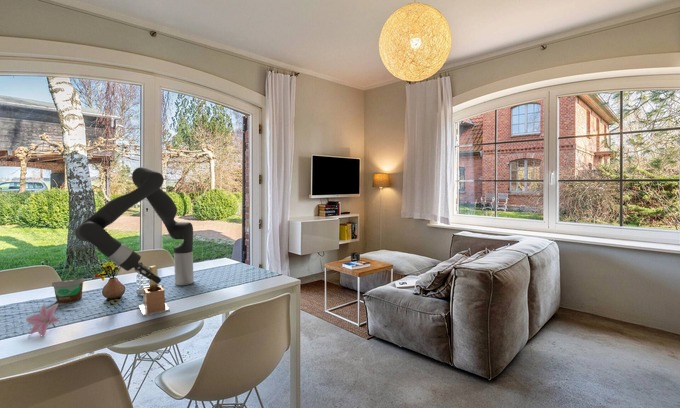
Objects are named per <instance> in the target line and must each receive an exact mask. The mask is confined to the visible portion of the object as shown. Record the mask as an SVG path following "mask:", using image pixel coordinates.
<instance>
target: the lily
mask: <svg viewBox="0 0 680 408" xmlns="http://www.w3.org/2000/svg"><path fill="white" fill-rule="evenodd" d="M58 306H59V303H57V302H56V303H55V304H53V305H51V306H50V307H48V308H47V307H46V305H45V304H43V305H42V306H41V308H40V311H39V313H36V314H33V315H30V316H28V317H27V318H26V319H25V321H26V322H27V323H28V324H30V325H32V328H31V330H30V332H29V334H31V335H34V333H36V332H37V333H38V334H39V336H40V337H41V335H42V336H44V337H45V335H46V332H47V330H48V327H49V325H52V326H54V328H56V327H55V326H56V325H55V324H56V323H58V322H59V321H60V319H59V318H57V317H56V316H54V313H55V311H57V308H58Z"/></svg>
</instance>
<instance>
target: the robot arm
mask: <svg viewBox="0 0 680 408" xmlns="http://www.w3.org/2000/svg"><path fill="white" fill-rule="evenodd" d="M131 179H132V183H133V184H134V186H135V187H136V188H135V189H134V190H132V191H129V192H127V193H125V194H123V195H119V196H116V197H115V198H113V199H111V200H109V201H108V202H106V203H105V204H104V205H102V207H100V208H98V210H97V211H96V212H95V213H94V214H93V215H91V216H90V217H89V218H87V219H85V220H84V221H83V222H82V223H80V224H79V225H78V226H77V227H76V229H75V231H74V235H75V237H76V238H77V240H79V241H82V242H88V243H90V244H91V245H92V246H94V247H95V248H96V249H97V251H98V252H100V253H101V254H102V255H104V256H105V257H107V258H108V259H109V260H110V261H112V262H113V263H115V264H116V265H118V266H119V267H120V268H122V269H123V270H125V271H131V270H134V272H136V273H137V274H140V275H141V276H142V277H144V278H147V279H148V280H149V279H151V280H153V281H154V282H156V283H157V284H158V285H159V284H160V283H161V281H162V279H161V277H160V276H158V277H157V276H156V275H155V274H154V273H152V272H151V270H150V269H149V267H148V266H147V265H146V264H145V263H143V262H141V259H142V256H141V255H140V254H139V253H138V252H135V250H133V249H132V248H130V247H129V246H127V245H126V244H123V243H122V242H121V241H119V240H118V239H116V238H115V237H113V236H112V235H111V234H110V233H109V232H107V230H106V229H105V228H106V227H108V226H109V225H112V224H113V223H115V221H117V220H118V219H119V218H120V217H121V216H123V215H124V213H125V212H126V213H127V211H128V210H129V209H131V208H132V207H134V206H135V205H137V204H138V203H140V202H141V201H143V200H144V199H147V201H148V203H149V205H150V206H151V207H152V209H153V210H154V211H155V213H156V214H157V217H159V218H160V219H161V221H162V223H163V224H164V227H165V229H166V231H167V232H168V234H169V236H170V238H172V239H173V240H183V242H182V243H181V244H179V245H176V246H174V248H173V261H174V284H175V285H176V286H187V285H191V284H193V283H194V282H195V281H194V280H195V279H194V255H193V253H194V252H193V247H194V228H193V224H192V222H188V221H187V222H186V221H181V222H178V221H176V220H175V218H176V216H177V213H178V208H177V205H176V204H175V203H176V202H174V200H173V199H172V197H171V196H170V195H169V194H167V193H166V192H165V191H164V190H163V189H161V187H162V186H163V184H164V176H163V174H161V173H160V172H158V171H156V170H155V169H151V168H149V167H147V166H146V167H144V166H139V167H136V168H135V169H134V170H133V172H132V174H131ZM149 274H151V275H150V276H149Z"/></svg>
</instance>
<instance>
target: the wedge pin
mask: <svg viewBox="0 0 680 408" xmlns="http://www.w3.org/2000/svg"><path fill="white" fill-rule="evenodd" d="M148 268H149V269H150V270H151V272H152V273H154V274H155V275H156V276H157V277H159V274H158V265H150V266H149V267H148ZM150 275H151V274H149V276H150ZM148 282H149V284H148V286H150V292H152V291H157V290H158V285H159V284H157V283H156V282H154V281H153V280H151V279H148Z"/></svg>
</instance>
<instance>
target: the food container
mask: <svg viewBox="0 0 680 408" xmlns="http://www.w3.org/2000/svg"><path fill="white" fill-rule="evenodd" d="M84 282H85V279H84V277H81V278H78V279H68V280H67V279H66V280H61V281H54V280H53V281H52V282H51V286H52V287H53V289H54V293H55V294H54V295H55V300H56V304H57V303H58V304H68V303H74V302H77V301H80V300H81V299H83V287H84V286H83V285H84Z"/></svg>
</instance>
